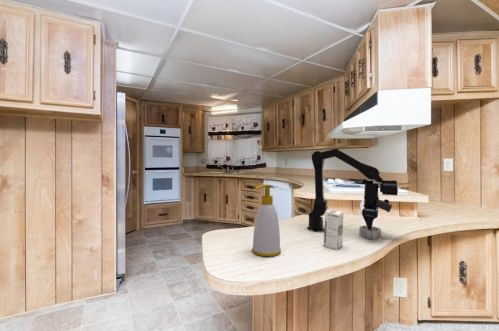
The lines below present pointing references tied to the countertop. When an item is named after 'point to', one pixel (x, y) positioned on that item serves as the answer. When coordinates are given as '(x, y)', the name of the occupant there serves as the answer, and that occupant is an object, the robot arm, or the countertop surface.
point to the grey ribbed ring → (370, 233)
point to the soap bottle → (266, 226)
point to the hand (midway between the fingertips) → (370, 227)
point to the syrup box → (333, 229)
